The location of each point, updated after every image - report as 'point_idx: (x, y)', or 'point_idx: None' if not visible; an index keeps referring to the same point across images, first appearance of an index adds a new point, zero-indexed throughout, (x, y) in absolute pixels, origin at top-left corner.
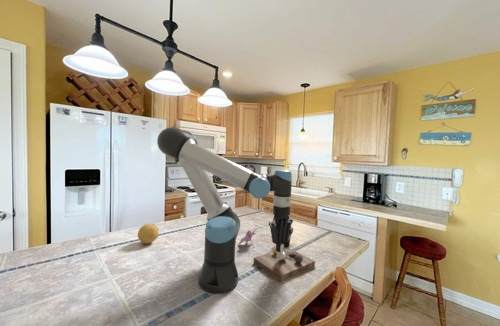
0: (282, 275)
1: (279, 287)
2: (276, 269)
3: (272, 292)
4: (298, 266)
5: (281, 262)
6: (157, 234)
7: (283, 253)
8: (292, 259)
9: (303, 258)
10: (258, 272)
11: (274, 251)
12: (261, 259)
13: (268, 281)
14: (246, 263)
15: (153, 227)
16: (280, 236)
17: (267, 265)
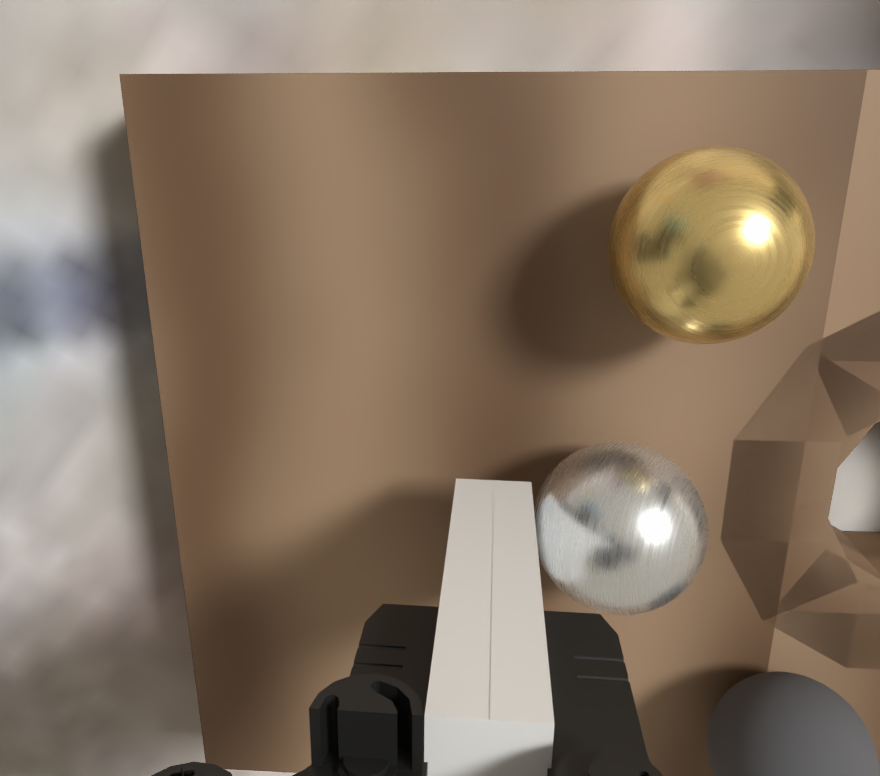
0: (245, 764)
1: (158, 753)
2: (263, 634)
3: (29, 765)
4: (657, 762)
5: None
6: None
7: (613, 592)
8: (793, 570)
9: None
10: (91, 381)
11: (614, 278)
12: (230, 236)
13: (104, 612)
14: (35, 12)
15: None
16: None
17: (202, 471)
